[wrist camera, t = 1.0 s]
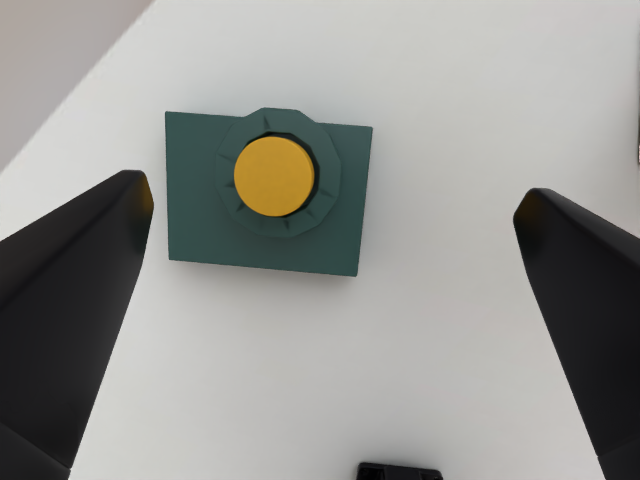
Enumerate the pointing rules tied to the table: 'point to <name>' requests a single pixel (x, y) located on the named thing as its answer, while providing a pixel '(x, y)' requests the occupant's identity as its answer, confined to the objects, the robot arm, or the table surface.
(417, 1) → the table surface
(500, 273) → the table surface
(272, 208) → the cylinder
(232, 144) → the teal square base
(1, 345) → the robot arm
